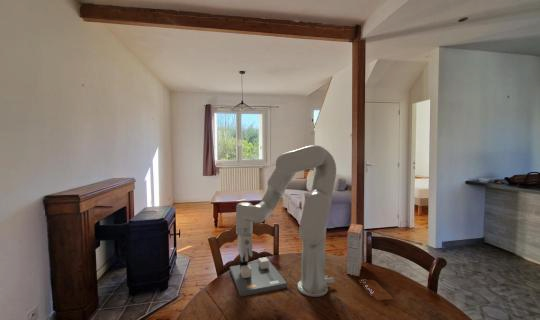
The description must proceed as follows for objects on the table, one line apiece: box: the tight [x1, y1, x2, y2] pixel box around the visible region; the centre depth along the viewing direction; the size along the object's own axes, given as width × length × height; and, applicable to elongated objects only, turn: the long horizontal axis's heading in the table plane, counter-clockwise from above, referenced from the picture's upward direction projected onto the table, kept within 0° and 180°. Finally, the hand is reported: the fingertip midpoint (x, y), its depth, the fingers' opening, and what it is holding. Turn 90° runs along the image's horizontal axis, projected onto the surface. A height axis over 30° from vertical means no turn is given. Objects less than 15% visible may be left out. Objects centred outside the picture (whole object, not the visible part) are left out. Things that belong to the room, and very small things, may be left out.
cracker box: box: [346, 223, 364, 277], centre depth 120 cm, size 14×6×21 cm, turn 154°
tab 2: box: [257, 256, 270, 269], centre depth 116 cm, size 4×4×4 cm
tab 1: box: [240, 265, 252, 278], centre depth 108 cm, size 4×4×4 cm
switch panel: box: [229, 260, 288, 297], centre depth 110 cm, size 20×22×2 cm
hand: (243, 269), depth 112 cm, fingers closed
